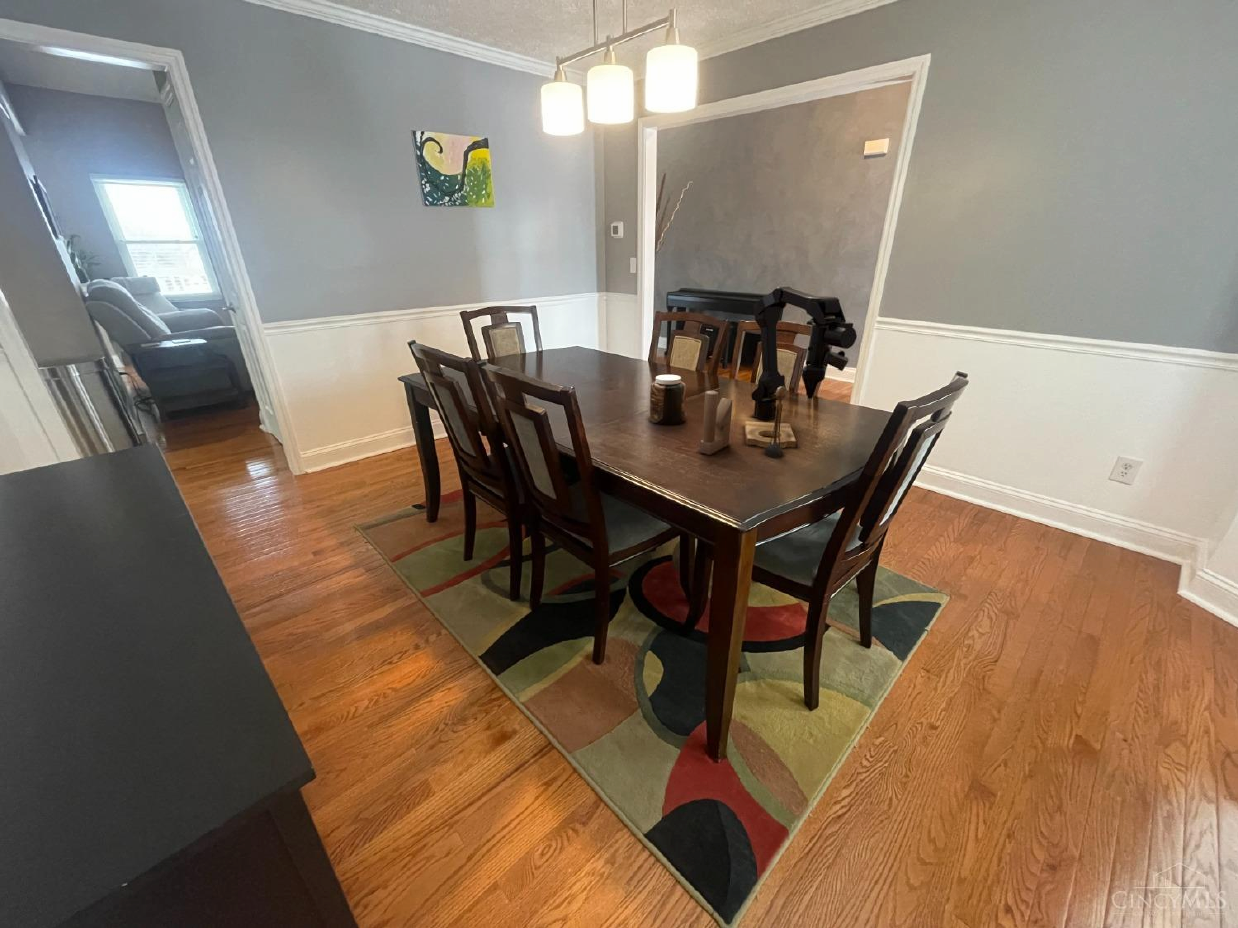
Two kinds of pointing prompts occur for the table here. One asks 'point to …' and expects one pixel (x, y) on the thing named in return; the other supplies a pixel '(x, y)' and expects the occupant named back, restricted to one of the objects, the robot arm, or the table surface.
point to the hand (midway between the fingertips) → (811, 394)
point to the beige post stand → (715, 423)
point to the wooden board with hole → (768, 434)
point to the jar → (667, 400)
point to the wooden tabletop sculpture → (774, 447)
